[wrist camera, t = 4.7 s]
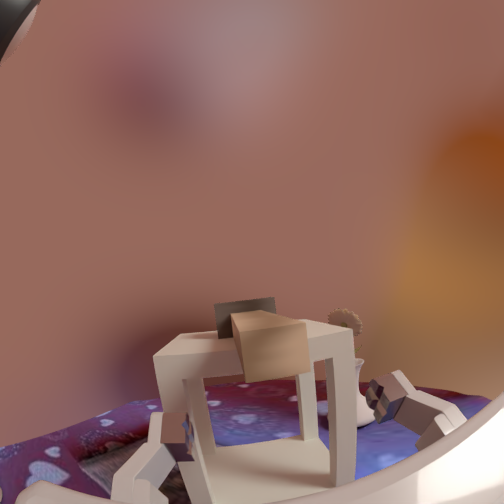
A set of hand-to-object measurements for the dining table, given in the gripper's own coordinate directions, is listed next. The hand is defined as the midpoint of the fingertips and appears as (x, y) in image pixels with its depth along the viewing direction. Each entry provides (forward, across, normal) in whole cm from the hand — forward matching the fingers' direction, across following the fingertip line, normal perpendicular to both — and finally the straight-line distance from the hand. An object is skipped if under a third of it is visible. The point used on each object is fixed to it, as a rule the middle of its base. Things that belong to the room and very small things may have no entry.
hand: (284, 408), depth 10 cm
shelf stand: (+2, 0, +30) cm, 30 cm away
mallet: (+10, 0, +4) cm, 10 cm away
